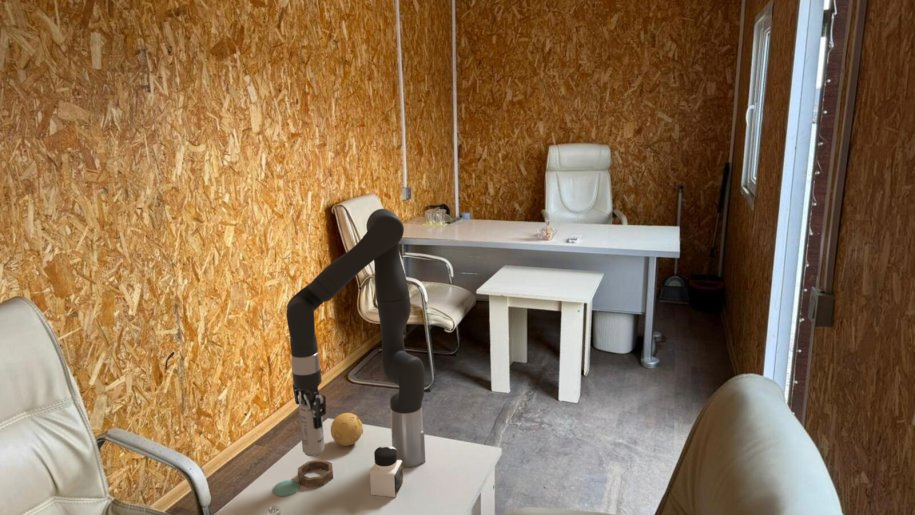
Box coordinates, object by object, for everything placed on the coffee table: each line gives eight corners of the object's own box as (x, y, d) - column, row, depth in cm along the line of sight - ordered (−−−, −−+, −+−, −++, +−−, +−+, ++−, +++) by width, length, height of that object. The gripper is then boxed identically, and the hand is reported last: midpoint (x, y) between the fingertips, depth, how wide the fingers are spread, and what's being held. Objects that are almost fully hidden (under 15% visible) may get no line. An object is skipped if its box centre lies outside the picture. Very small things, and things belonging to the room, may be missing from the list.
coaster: (299, 479, 173) (299, 478, 173) (299, 494, 166) (299, 492, 166) (273, 483, 172) (273, 482, 171) (272, 498, 165) (272, 496, 165)
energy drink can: (325, 455, 170) (321, 406, 167) (302, 458, 169) (298, 409, 166) (324, 444, 176) (320, 396, 173) (302, 447, 175) (298, 399, 171)
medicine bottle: (395, 498, 164) (394, 457, 161) (370, 495, 165) (368, 455, 163) (403, 482, 171) (401, 443, 168) (379, 480, 172) (377, 441, 169)
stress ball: (331, 443, 194) (321, 437, 185) (342, 413, 198) (333, 405, 189) (360, 451, 192) (351, 446, 183) (370, 421, 196) (362, 414, 187)
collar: (332, 465, 180) (331, 458, 179) (333, 484, 171) (333, 476, 170) (298, 470, 178) (297, 462, 177) (298, 489, 168) (297, 481, 168)
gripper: (332, 371, 164) (337, 427, 168) (305, 356, 174) (310, 410, 178) (307, 380, 159) (313, 438, 163) (281, 365, 169) (287, 419, 173)
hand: (312, 423), depth 171 cm, fingers closed on energy drink can, 6 cm apart
